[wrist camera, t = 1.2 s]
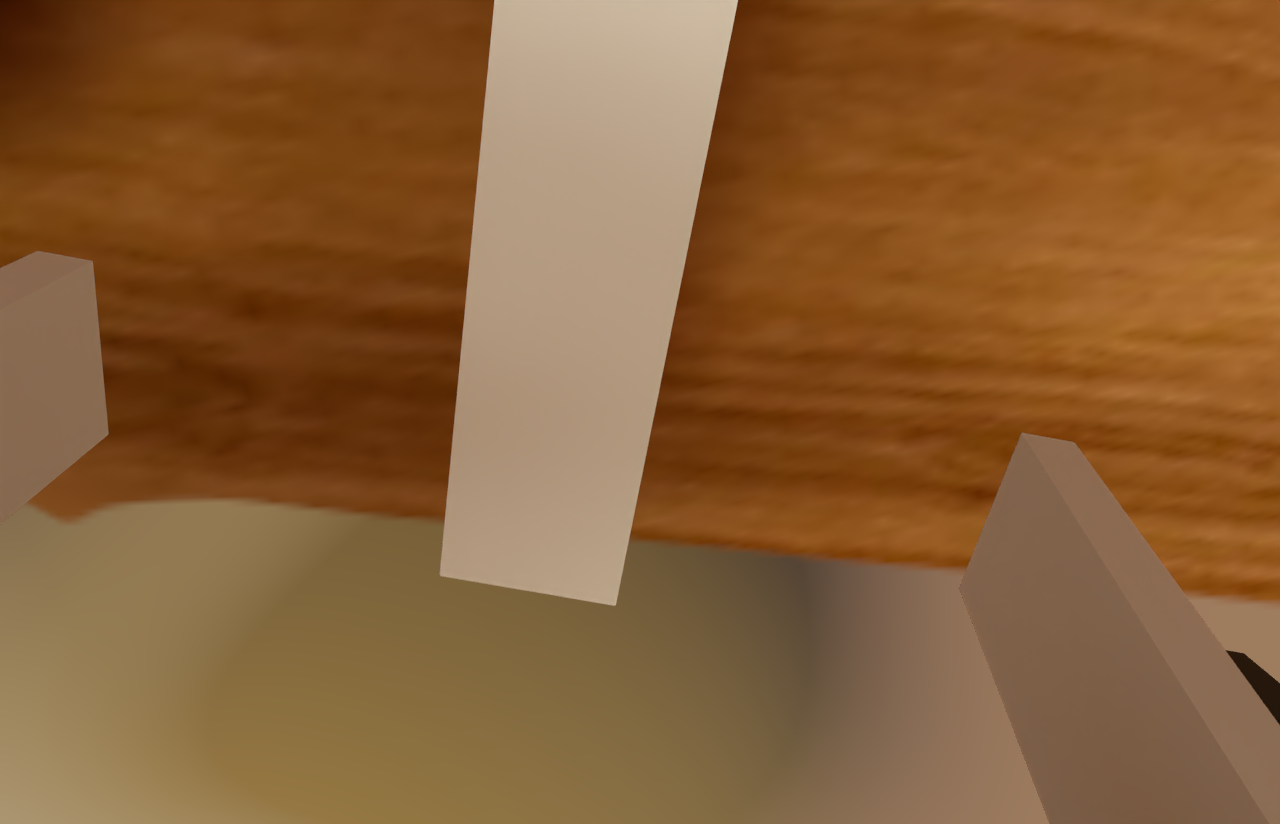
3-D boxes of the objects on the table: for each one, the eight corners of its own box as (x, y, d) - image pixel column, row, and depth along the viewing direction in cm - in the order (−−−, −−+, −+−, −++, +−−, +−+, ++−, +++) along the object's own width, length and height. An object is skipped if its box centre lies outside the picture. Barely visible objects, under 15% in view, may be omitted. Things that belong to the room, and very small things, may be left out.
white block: (638, 408, 30) (615, 605, 22) (514, 386, 30) (439, 575, 21) (732, -79, 24) (754, -85, 15) (576, -109, 24) (507, -133, 15)
